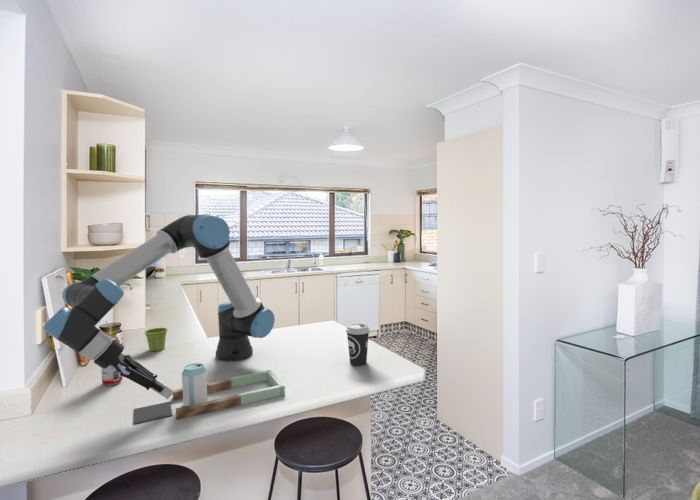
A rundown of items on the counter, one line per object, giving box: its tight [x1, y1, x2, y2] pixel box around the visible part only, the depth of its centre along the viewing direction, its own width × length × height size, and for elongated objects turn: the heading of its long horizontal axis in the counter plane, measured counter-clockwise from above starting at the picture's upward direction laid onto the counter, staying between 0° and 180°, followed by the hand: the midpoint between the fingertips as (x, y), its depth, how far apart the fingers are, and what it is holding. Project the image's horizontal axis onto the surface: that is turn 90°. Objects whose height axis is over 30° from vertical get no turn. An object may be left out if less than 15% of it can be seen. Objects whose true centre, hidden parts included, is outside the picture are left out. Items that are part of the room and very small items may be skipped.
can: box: [181, 362, 208, 407], centre depth 123 cm, size 7×7×12 cm
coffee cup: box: [345, 322, 371, 367], centre depth 156 cm, size 10×10×15 cm
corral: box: [229, 369, 286, 406], centre depth 132 cm, size 14×16×3 cm
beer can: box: [100, 336, 123, 387], centre depth 140 cm, size 6×6×16 cm
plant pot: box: [143, 327, 168, 352], centre depth 177 cm, size 9×9×9 cm
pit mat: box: [133, 401, 173, 425], centre depth 118 cm, size 10×10×1 cm
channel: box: [172, 378, 241, 420], centre depth 124 cm, size 18×16×2 cm
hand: (170, 394), depth 119 cm, fingers closed
